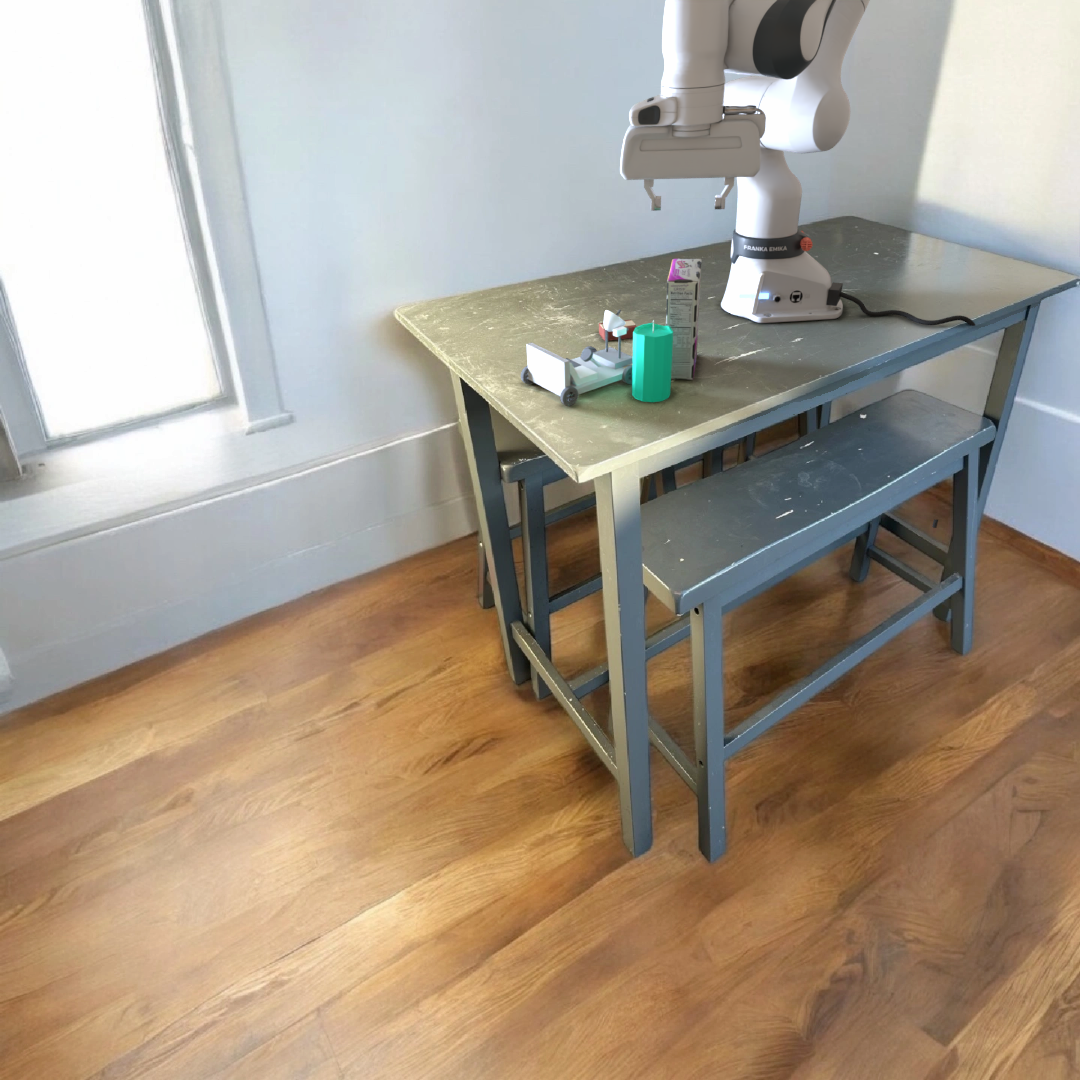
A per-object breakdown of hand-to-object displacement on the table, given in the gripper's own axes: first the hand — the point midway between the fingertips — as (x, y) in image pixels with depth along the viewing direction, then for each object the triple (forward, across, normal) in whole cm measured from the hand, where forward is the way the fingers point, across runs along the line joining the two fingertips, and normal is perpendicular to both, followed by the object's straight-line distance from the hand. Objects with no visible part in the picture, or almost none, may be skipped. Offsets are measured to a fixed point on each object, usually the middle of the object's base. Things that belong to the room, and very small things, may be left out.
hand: (687, 209), depth 128 cm
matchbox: (+25, +12, -14) cm, 31 cm away
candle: (+25, +4, +12) cm, 28 cm away
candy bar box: (+25, 0, +1) cm, 25 cm away
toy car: (+25, +15, +7) cm, 30 cm away
